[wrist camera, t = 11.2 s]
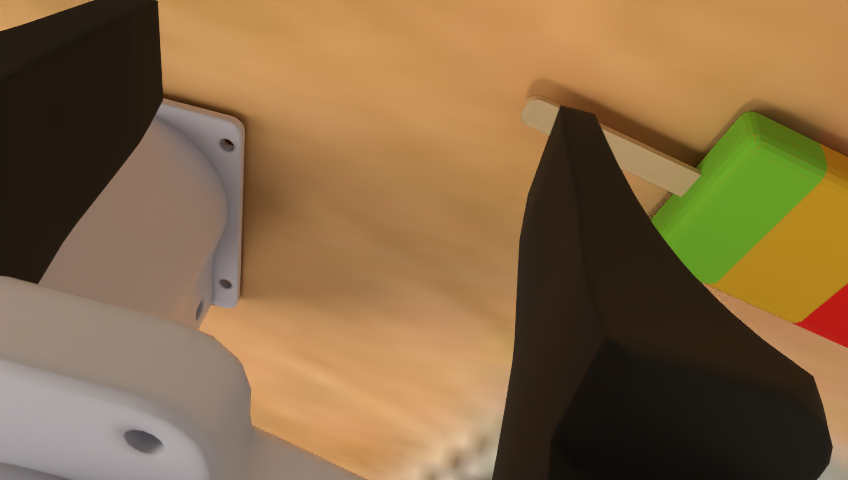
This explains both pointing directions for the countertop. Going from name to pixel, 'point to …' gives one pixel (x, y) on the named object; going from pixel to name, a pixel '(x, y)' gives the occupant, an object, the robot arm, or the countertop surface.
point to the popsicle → (751, 215)
